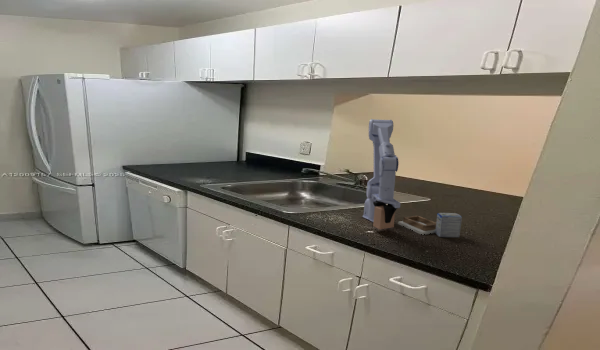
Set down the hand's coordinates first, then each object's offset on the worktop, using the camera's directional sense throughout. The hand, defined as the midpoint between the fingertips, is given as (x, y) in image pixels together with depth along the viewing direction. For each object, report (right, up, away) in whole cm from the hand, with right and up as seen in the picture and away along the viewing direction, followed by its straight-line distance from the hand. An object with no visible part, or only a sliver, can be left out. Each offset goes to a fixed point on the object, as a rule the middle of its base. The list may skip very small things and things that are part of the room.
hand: (383, 220), depth 139 cm
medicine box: (+24, -6, -1) cm, 25 cm away
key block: (0, -2, 0) cm, 2 cm away
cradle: (+17, -4, +7) cm, 19 cm away
